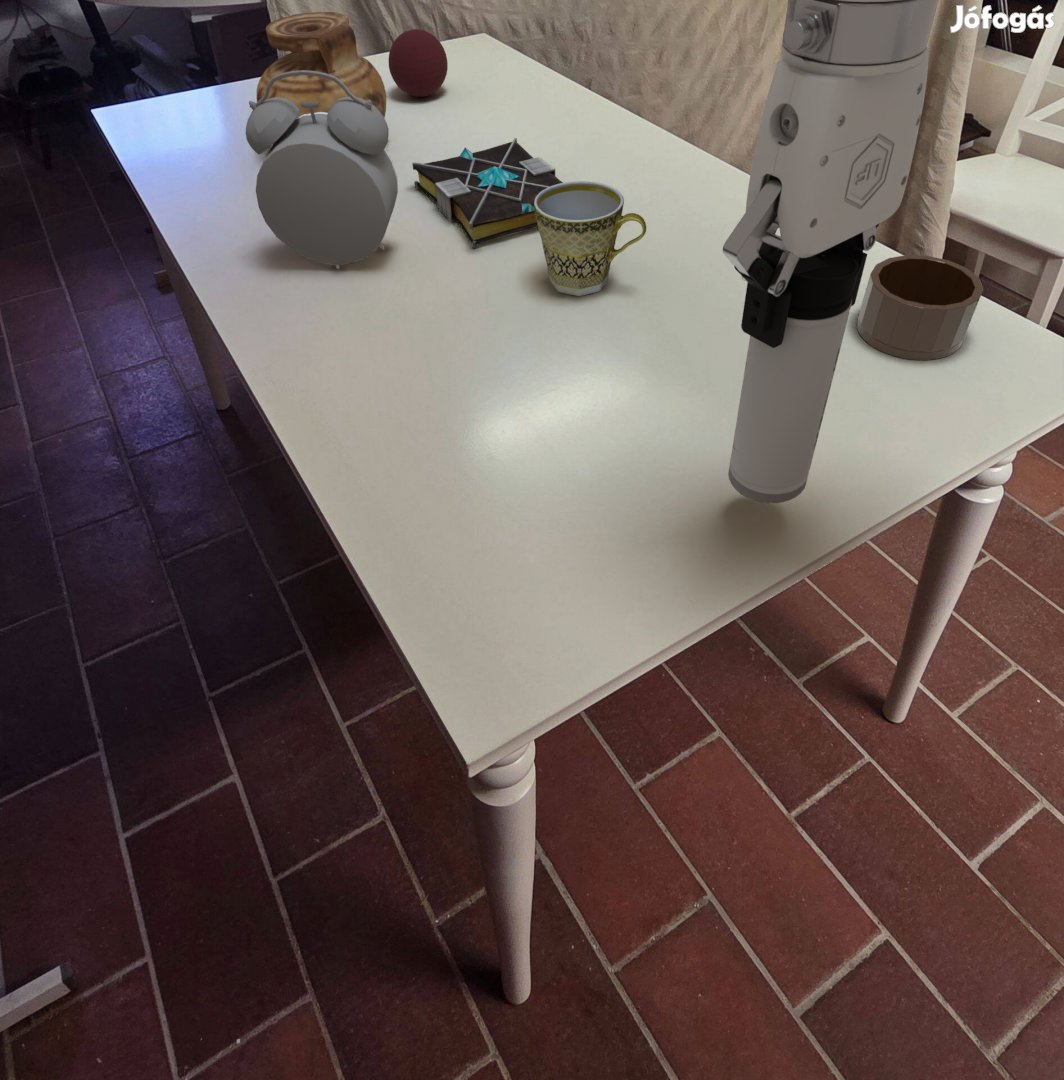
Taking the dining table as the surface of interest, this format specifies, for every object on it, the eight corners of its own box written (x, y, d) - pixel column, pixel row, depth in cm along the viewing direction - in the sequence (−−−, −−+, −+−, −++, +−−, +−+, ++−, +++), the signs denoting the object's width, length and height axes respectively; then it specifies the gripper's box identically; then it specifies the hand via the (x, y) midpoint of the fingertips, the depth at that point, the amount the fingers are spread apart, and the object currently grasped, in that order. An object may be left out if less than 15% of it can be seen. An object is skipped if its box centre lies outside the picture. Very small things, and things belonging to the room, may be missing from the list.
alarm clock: (413, 243, 107) (385, 55, 91) (400, 277, 101) (368, 83, 85) (290, 242, 109) (241, 57, 93) (271, 276, 103) (215, 84, 87)
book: (589, 219, 110) (589, 182, 106) (473, 251, 105) (469, 213, 102) (518, 161, 123) (516, 126, 120) (413, 187, 119) (407, 151, 115)
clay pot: (229, 149, 123) (226, -9, 114) (314, 154, 138) (317, 15, 129) (329, 169, 116) (334, 3, 107) (407, 173, 131) (417, 27, 122)
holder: (983, 334, 88) (1004, 284, 84) (921, 372, 84) (940, 321, 80) (898, 294, 95) (913, 244, 90) (836, 328, 90) (849, 277, 86)
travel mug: (709, 469, 69) (740, 243, 55) (774, 445, 71) (821, 219, 56) (753, 516, 65) (799, 284, 51) (822, 489, 67) (885, 258, 52)
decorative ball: (454, 102, 141) (448, 36, 134) (396, 108, 140) (386, 42, 133) (446, 82, 148) (439, 18, 141) (390, 88, 147) (381, 24, 139)
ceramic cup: (523, 294, 98) (519, 212, 90) (556, 255, 104) (555, 175, 96) (627, 315, 94) (631, 231, 86) (655, 273, 100) (661, 191, 92)
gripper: (802, 81, 39) (750, 392, 52) (1015, 2, 45) (922, 295, 58) (689, 47, 43) (668, 342, 56) (899, -21, 50) (836, 257, 63)
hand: (798, 316), depth 57 cm, fingers closed on travel mug, 6 cm apart
